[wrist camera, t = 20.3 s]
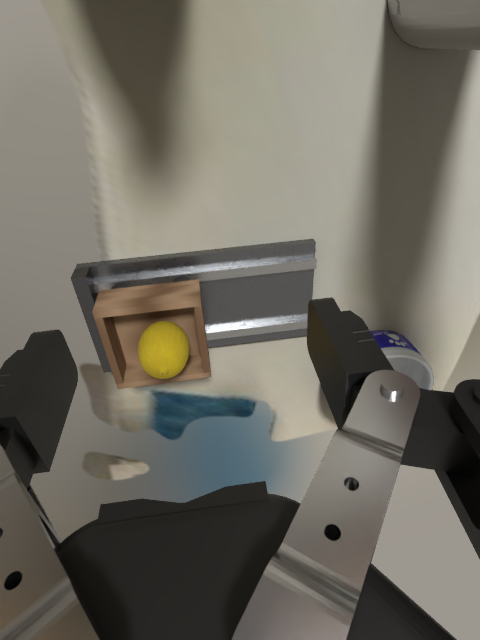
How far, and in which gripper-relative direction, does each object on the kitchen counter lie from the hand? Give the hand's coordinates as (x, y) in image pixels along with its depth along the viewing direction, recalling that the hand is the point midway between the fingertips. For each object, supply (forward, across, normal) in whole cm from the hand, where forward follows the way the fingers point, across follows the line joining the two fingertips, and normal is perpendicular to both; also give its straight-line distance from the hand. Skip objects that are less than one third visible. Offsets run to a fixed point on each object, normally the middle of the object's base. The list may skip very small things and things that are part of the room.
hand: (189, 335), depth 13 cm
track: (+32, +1, +19) cm, 38 cm away
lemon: (+28, +6, +19) cm, 34 cm away
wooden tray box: (+30, +6, +19) cm, 36 cm away
